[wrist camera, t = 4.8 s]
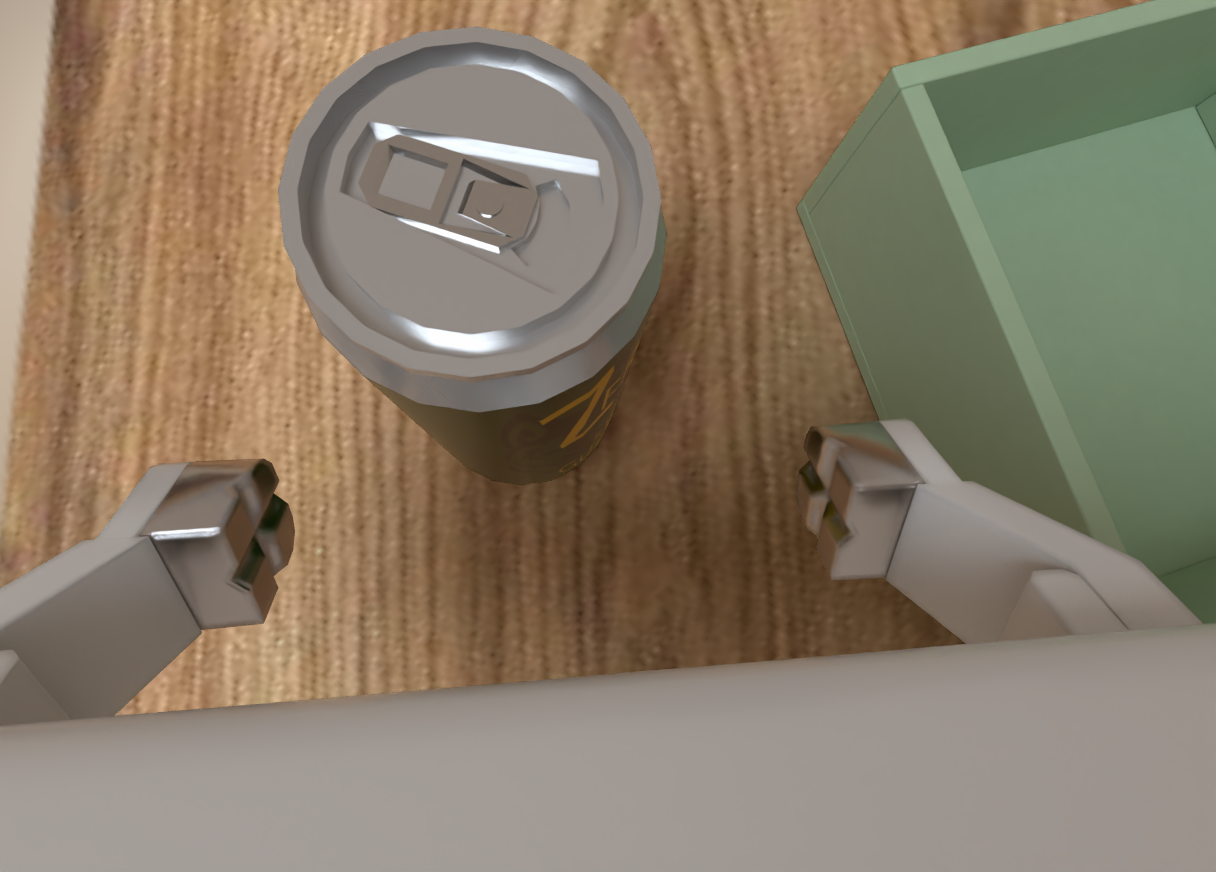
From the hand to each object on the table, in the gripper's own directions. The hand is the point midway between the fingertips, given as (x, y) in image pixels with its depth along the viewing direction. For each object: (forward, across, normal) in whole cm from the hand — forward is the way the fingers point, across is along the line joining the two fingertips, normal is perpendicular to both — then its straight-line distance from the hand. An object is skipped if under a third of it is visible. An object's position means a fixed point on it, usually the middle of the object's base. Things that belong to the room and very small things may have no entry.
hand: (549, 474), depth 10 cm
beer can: (+10, +1, +5) cm, 11 cm away
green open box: (+10, -18, +4) cm, 21 cm away
